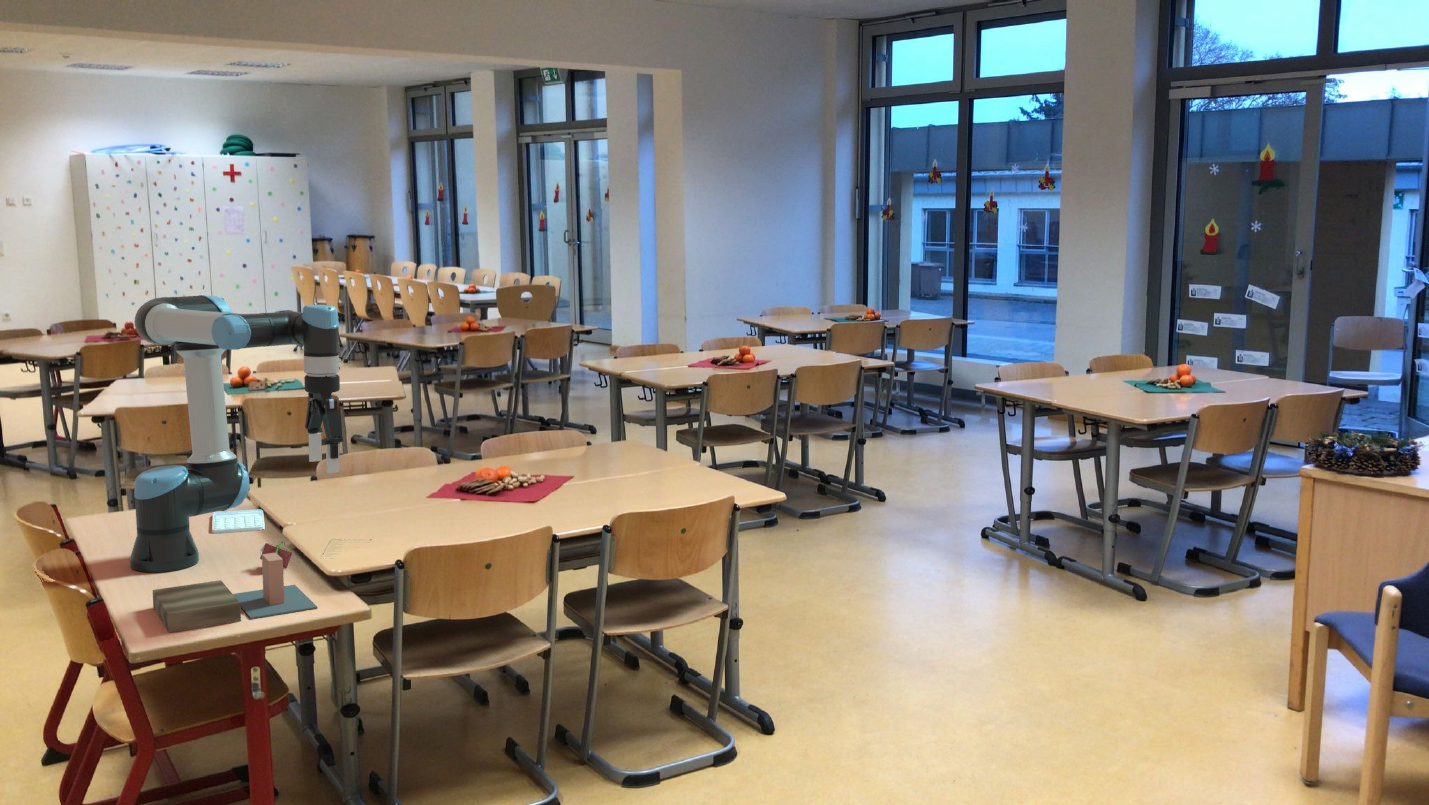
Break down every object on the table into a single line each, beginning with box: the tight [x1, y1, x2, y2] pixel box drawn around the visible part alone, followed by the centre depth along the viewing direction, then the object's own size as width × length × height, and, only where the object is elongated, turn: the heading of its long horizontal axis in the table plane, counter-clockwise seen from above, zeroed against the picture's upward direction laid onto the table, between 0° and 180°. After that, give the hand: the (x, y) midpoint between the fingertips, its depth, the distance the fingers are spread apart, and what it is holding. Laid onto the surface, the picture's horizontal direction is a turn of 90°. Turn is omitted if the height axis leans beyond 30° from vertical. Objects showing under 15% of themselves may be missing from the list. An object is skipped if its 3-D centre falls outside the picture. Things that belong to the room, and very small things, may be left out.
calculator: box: [211, 509, 266, 534], centre depth 324 cm, size 13×20×2 cm, turn 22°
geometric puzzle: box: [259, 540, 293, 569], centre depth 284 cm, size 7×7×8 cm
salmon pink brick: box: [261, 553, 285, 605], centre depth 259 cm, size 6×3×10 cm, turn 34°
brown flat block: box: [152, 579, 242, 633], centre depth 250 cm, size 18×14×4 cm
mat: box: [232, 584, 318, 620], centre depth 260 cm, size 18×14×1 cm
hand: (324, 466), depth 266 cm, fingers open, 13 cm apart
